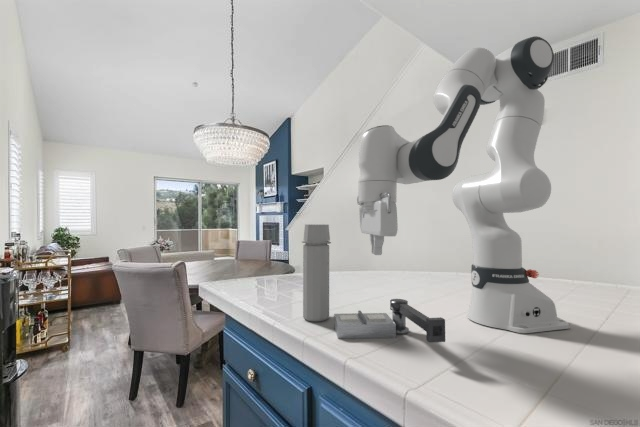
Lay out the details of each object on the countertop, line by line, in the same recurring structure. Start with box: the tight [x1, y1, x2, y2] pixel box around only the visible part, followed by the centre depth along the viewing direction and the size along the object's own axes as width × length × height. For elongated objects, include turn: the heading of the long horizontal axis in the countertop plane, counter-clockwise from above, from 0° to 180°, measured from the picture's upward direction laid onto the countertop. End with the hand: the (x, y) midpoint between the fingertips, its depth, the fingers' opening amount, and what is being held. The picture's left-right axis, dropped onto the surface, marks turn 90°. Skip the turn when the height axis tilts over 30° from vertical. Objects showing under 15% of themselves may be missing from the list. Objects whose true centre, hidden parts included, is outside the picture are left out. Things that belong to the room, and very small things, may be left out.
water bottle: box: [301, 223, 332, 323], centre depth 81 cm, size 9×8×25 cm
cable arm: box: [389, 298, 446, 344], centre depth 64 cm, size 19×4×4 cm, turn 9°
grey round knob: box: [391, 310, 410, 335], centre depth 71 cm, size 4×4×4 cm
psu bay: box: [333, 310, 397, 339], centre depth 71 cm, size 13×8×4 cm, turn 93°
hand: (376, 254), depth 70 cm, fingers closed
